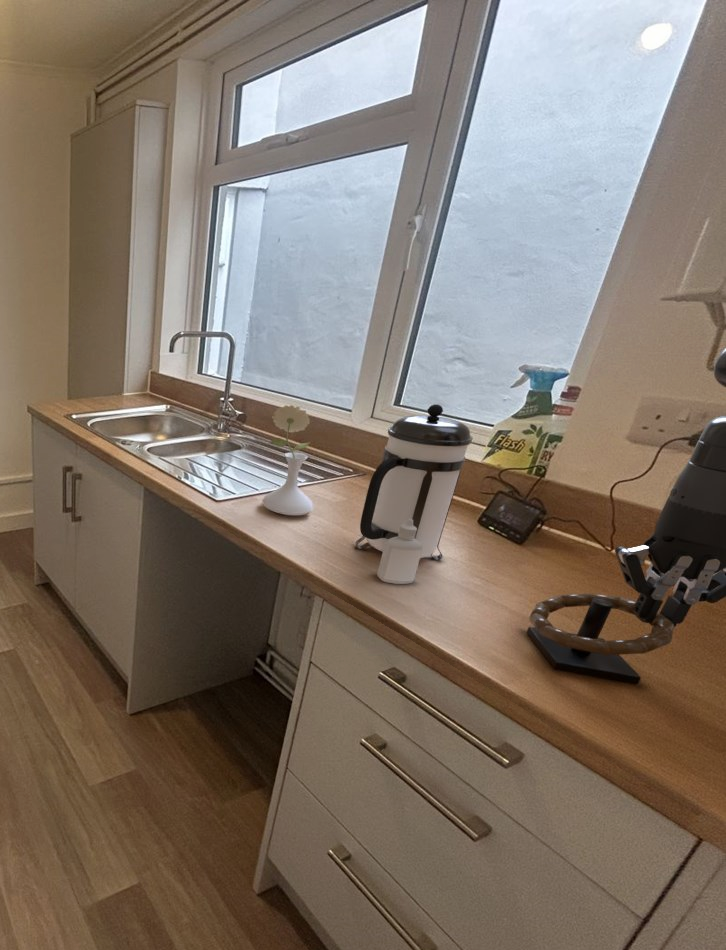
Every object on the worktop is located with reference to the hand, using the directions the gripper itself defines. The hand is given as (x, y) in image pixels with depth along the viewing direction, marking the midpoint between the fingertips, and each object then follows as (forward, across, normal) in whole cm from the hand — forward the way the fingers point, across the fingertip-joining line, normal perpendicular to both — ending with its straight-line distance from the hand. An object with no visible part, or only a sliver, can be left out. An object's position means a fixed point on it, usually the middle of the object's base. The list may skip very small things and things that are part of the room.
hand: (654, 621), depth 71 cm
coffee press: (+8, -24, +27) cm, 37 cm away
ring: (+1, -6, 0) cm, 6 cm away
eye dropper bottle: (+8, -26, +16) cm, 31 cm away
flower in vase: (+8, -44, +45) cm, 63 cm away
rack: (+8, -6, 0) cm, 10 cm away
